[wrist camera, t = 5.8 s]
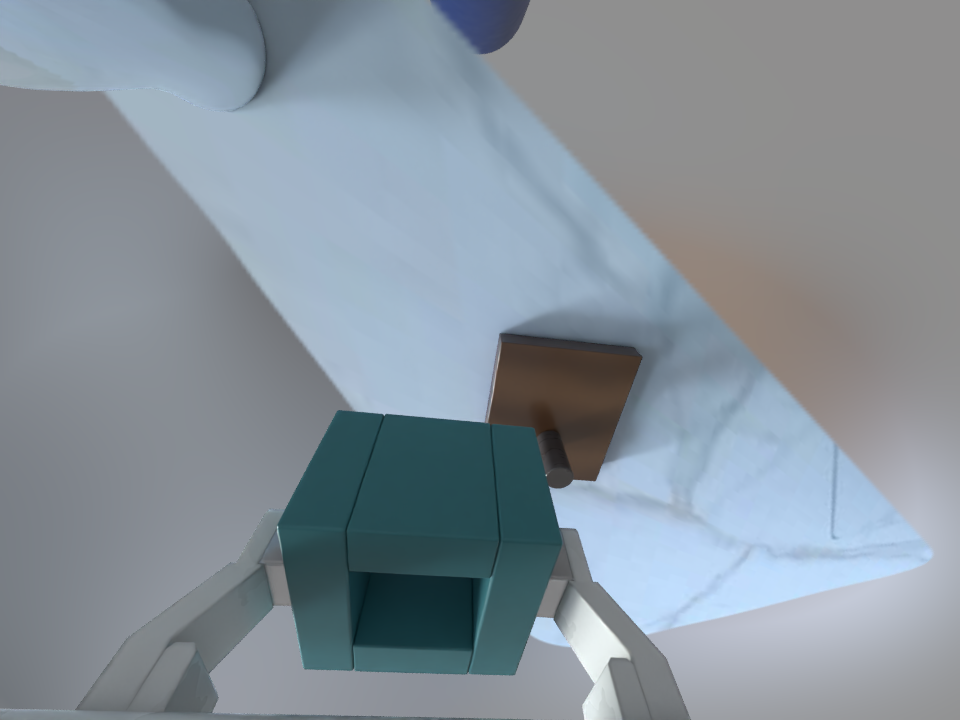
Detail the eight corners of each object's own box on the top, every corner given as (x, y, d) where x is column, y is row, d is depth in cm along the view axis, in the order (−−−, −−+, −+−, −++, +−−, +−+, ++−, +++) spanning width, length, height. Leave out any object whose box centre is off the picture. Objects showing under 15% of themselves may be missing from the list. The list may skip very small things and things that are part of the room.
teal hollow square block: (337, 408, 11) (274, 525, 7) (535, 426, 11) (564, 543, 8) (344, 540, 14) (302, 670, 10) (503, 549, 14) (515, 677, 11)
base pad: (499, 332, 26) (506, 371, 21) (634, 347, 27) (671, 387, 22) (478, 459, 32) (480, 513, 27) (590, 468, 33) (612, 522, 28)
